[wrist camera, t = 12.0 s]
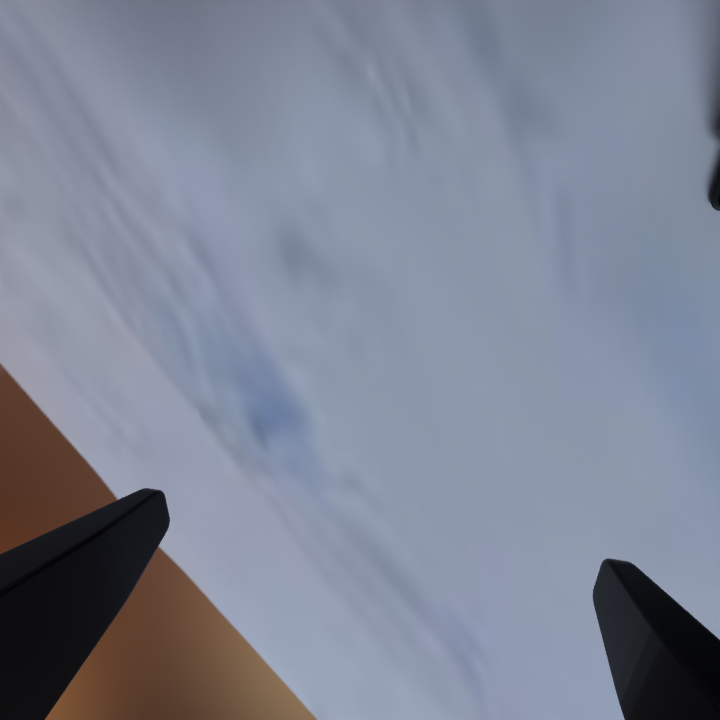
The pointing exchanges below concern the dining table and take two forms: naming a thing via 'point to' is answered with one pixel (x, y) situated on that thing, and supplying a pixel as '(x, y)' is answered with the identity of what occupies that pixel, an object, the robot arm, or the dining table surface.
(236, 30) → the dining table surface
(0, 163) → the dining table surface
